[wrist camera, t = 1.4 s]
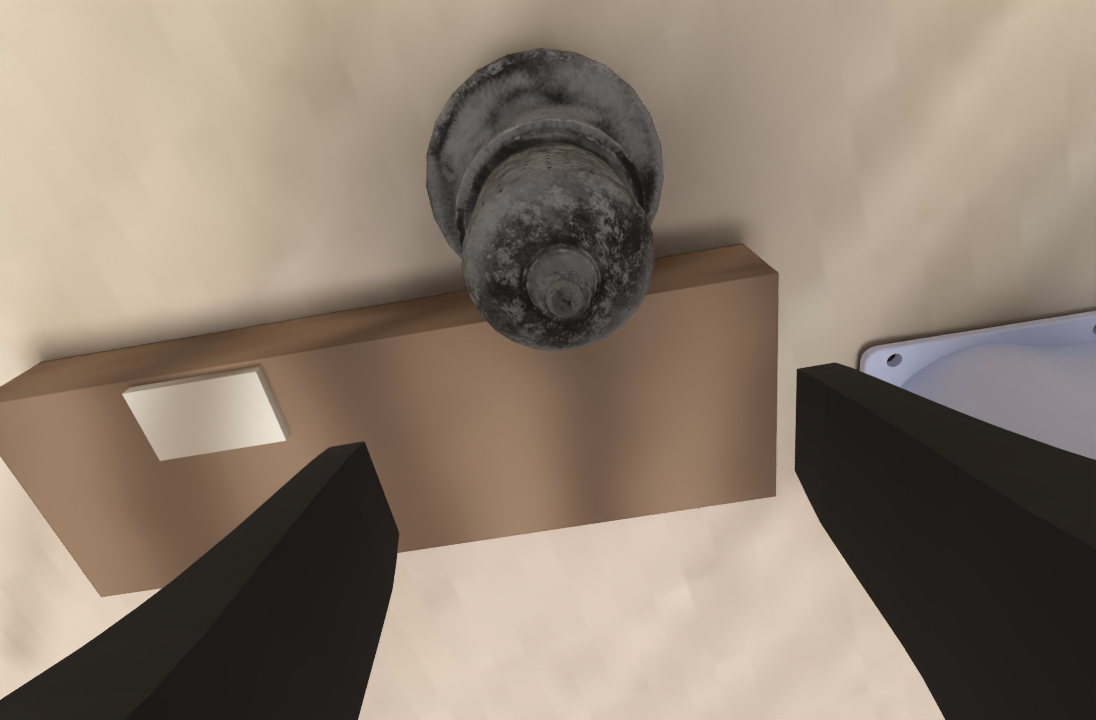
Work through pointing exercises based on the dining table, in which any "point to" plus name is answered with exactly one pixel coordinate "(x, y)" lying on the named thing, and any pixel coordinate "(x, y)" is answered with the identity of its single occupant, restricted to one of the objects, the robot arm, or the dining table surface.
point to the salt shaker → (548, 196)
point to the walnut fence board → (406, 421)
